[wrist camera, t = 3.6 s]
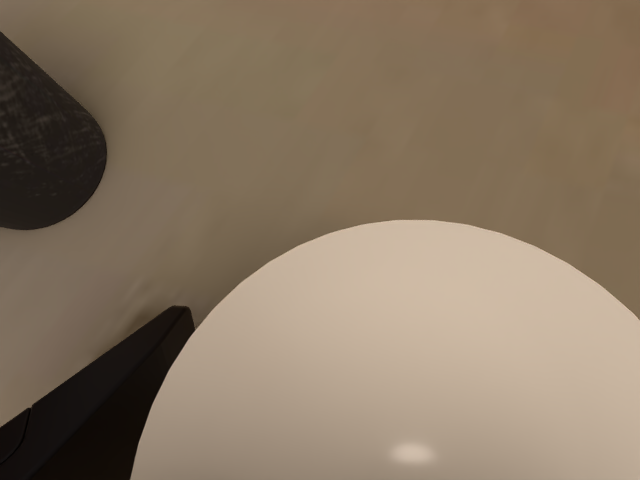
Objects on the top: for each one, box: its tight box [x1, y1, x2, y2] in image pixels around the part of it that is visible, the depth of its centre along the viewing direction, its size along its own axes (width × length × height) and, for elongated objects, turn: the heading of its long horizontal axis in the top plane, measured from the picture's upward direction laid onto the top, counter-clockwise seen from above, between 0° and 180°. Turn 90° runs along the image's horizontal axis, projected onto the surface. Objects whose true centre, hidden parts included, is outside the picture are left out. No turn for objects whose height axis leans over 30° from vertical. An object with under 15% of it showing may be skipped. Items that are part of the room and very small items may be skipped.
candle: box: [130, 220, 640, 480], centre depth 9 cm, size 5×5×13 cm
